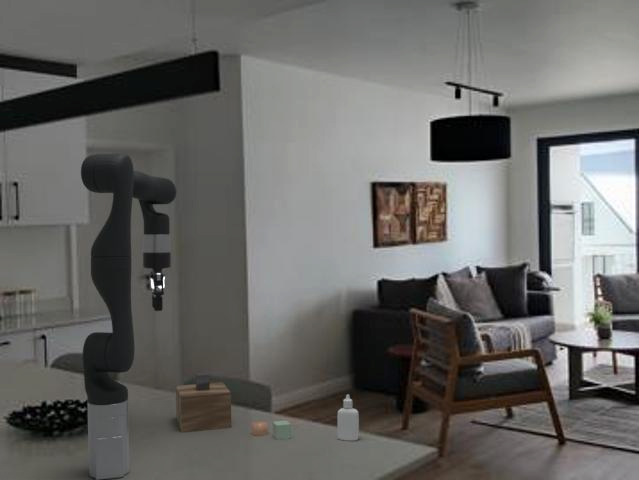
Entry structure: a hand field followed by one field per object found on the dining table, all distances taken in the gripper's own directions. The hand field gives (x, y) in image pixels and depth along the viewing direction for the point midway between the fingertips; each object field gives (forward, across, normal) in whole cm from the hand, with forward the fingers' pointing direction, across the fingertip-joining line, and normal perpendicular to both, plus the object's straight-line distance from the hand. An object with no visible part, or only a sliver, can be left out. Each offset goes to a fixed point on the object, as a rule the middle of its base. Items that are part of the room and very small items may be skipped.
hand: (157, 309), depth 203 cm
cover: (+34, +6, -13) cm, 37 cm away
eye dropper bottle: (+35, -21, -49) cm, 63 cm away
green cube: (+35, -14, -32) cm, 49 cm away
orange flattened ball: (+35, -9, -27) cm, 45 cm away
